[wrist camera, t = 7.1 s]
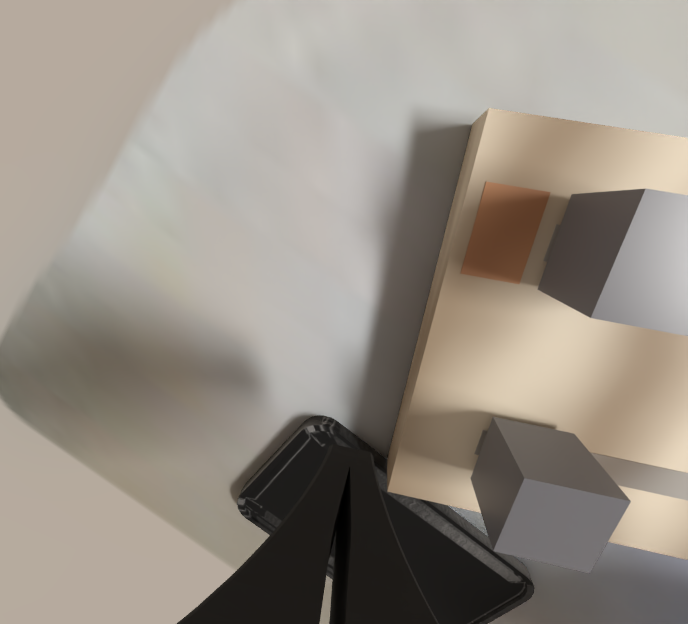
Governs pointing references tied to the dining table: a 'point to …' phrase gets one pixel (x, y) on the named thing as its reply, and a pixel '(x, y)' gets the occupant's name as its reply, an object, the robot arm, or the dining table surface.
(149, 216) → the dining table surface
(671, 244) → the switch tab
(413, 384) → the switch board
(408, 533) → the phone
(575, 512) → the switch tab
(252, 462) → the dining table surface
